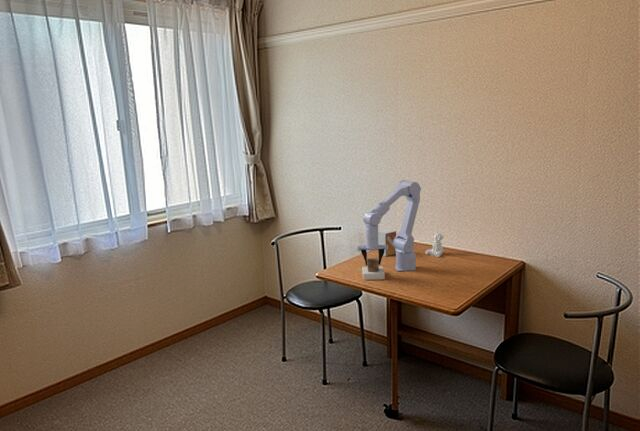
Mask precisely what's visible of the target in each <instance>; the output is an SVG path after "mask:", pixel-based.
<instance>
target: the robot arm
mask: <svg viewBox="0 0 640 431" xmlns="http://www.w3.org/2000/svg"><path fill="white" fill-rule="evenodd" d="M421 190H422V187H421V185H420V184H419V183H418V182H416V181H409V180H406V179H403V180H400V181H399V183H397V184H396V187H395V189H394V190H393V191H392V192H391V193H390V194H389V195H388V197H387V198H386V199H385V200H381V201H378V202H377V204H376V206H375V207H373V208H372V209H371V210H370V211H368V212H366V213H365V214H364V216H363V218H362V219H363V223H364V224H365V235H366V236H365V238H366V239H365V241H366V242H365V245H357V247H356V249H357V250H356V251H357V252H360V253H361V254H362V256H363V259H364V262H365V264H364V265H365V266H367V259H368V256H367V255H368V252H367V251H378V252H379V254H378V261H379V266H381V264H382V263H381V262H382V259H383V257H384V256H383V254H384V250H388V245H378V232H379V225H380V223H381V220H382V219H383V217H384V216H385V215H386V214H387V213H388V211H390V207H391V206H392V205H393V204H394V203H395V202H396V201H397V200H398V199H400V198H401V197H405V198H406V200H407V203H406V208H405V210H404V211H405V212H404V216H403V220H402V224H401V226H400V228H401V229H400V231H399V232H396V237H395V239H394V241H393V246H394V248H395V250H396V254H395V263H396V264H395V265H394V268H395V272H405V271H406V272H407V271H409V272H410V271H416V270H417V268H416V252H415V250H414V248H415V243H414V241H415V237H414V236H413V234H412V233H413V228H414V224H415V221H416V217H417V213H418V209H419V205H420V202H421V195H420V194H421Z"/></svg>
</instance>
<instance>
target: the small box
mask: <svg viewBox="0 0 640 431" xmlns="http://www.w3.org/2000/svg"><path fill="white" fill-rule="evenodd" d="M396 234H397V230H394V229H391V228H388V229H384V230H380V231H379V230H378V245H388V250H384V254H383V257H388V256H392V255H396V250H395V248H394V246H393V241H394V239H395V237H396ZM378 255H379V252H378Z"/></svg>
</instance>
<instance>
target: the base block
mask: <svg viewBox="0 0 640 431" xmlns="http://www.w3.org/2000/svg"><path fill="white" fill-rule="evenodd" d="M361 273H362V279H363V280H364V281H371V280H375V281H376V280H385V279H386V278H385V275H386V274H385V271H384V267H383V266H381V265H379V271H378V272H368V268H367V266H362V267H361Z"/></svg>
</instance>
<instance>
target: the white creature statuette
mask: <svg viewBox="0 0 640 431" xmlns="http://www.w3.org/2000/svg"><path fill="white" fill-rule="evenodd" d="M443 239H444V235H443V234H441V233H439V232H435V233H434V236H433V240H434V241H433V242H432V244H431V246H432V248H428V249H427V250H425V252H424V253H425V255H431V256H435V257H436V258H440V257H441V256H442V255H443V253H444V248H443V245H442V242H441V241H442V240H443Z"/></svg>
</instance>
